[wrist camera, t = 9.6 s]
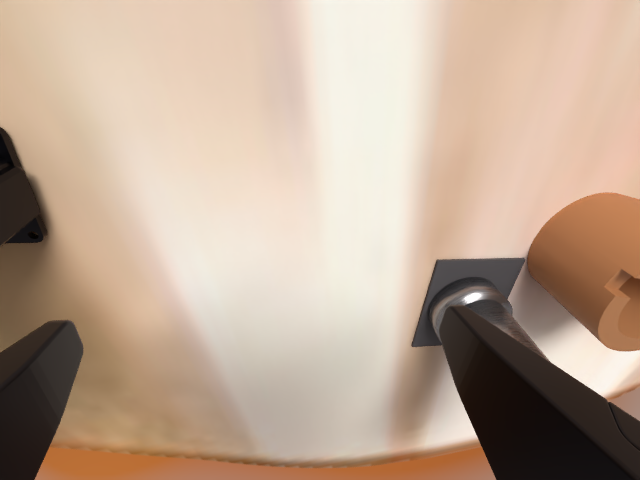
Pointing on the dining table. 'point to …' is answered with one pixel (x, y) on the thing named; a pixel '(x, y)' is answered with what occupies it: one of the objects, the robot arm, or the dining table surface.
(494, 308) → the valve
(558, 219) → the bracket
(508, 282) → the dark grey rectangular plate
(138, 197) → the dining table surface
